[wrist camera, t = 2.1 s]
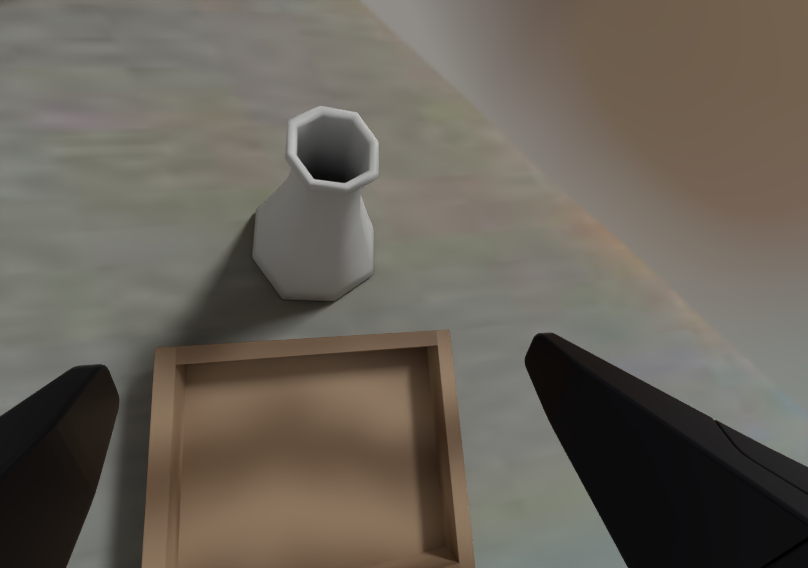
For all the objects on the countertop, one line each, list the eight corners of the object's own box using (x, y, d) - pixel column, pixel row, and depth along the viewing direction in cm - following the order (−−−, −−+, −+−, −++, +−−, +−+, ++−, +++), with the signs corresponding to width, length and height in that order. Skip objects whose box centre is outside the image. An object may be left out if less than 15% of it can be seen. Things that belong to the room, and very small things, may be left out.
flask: (390, 285, 22) (463, 224, 13) (270, 320, 19) (248, 276, 10) (355, 180, 23) (398, 49, 13) (235, 200, 20) (186, 58, 11)
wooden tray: (454, 552, 19) (476, 577, 17) (159, 632, 15) (134, 680, 13) (433, 333, 22) (449, 329, 20) (173, 350, 18) (155, 347, 15)
